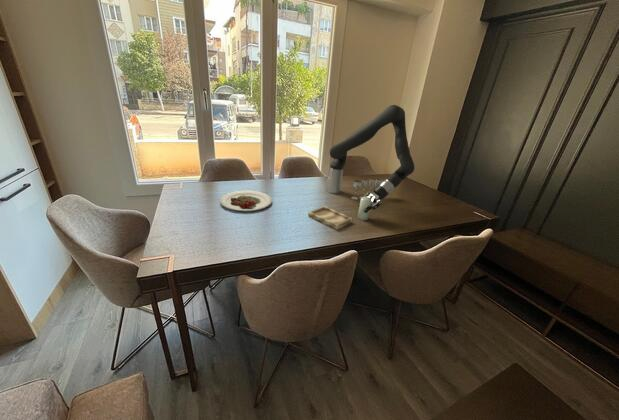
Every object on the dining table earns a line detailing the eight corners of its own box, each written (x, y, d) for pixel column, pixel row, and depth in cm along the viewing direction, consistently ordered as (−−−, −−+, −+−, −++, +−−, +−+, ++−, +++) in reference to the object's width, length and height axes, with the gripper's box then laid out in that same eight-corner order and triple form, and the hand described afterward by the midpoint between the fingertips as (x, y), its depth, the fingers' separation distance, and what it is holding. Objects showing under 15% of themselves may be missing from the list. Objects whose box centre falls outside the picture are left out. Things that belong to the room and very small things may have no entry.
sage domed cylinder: (355, 217, 146) (358, 198, 141) (361, 214, 150) (364, 195, 145) (364, 221, 142) (368, 201, 137) (369, 218, 146) (373, 199, 141)
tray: (308, 216, 142) (308, 212, 141) (323, 209, 151) (324, 205, 150) (336, 230, 130) (336, 225, 129) (351, 222, 140) (352, 218, 139)
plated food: (254, 190, 171) (254, 185, 170) (281, 205, 153) (281, 200, 151) (211, 199, 151) (210, 194, 150) (237, 218, 133) (236, 212, 131)
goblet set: (383, 195, 184) (387, 177, 178) (387, 198, 179) (392, 180, 173) (349, 196, 175) (352, 178, 169) (352, 199, 170) (356, 181, 164)
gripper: (374, 180, 146) (352, 200, 147) (388, 189, 134) (364, 210, 135) (380, 189, 150) (359, 208, 151) (394, 198, 137) (371, 219, 139)
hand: (361, 209), depth 143 cm, fingers closed on sage domed cylinder, 6 cm apart
